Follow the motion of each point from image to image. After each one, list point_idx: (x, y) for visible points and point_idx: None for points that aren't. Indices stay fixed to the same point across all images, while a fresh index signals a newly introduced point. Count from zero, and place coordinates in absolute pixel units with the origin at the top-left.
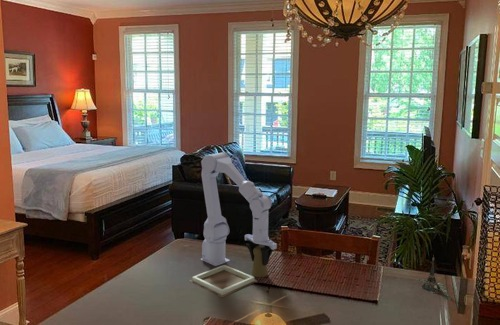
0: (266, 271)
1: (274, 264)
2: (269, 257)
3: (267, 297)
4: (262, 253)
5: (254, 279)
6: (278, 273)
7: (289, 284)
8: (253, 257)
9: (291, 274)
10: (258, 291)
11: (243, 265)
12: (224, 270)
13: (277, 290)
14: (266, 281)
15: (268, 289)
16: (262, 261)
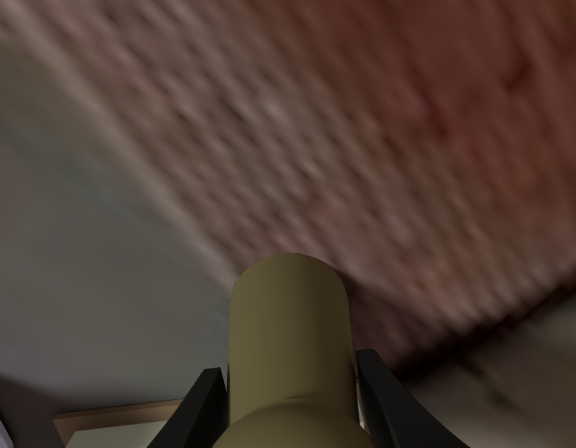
0: (345, 305)
1: (188, 71)
2: (412, 399)
3: (548, 440)
4: None
5: (359, 407)
6: (362, 179)
7: (554, 243)
8: None
9: (454, 99)
10: (462, 436)
11: (76, 300)
12: None
13: (541, 356)
14: (401, 333)
15: (489, 386)
16: (372, 437)
